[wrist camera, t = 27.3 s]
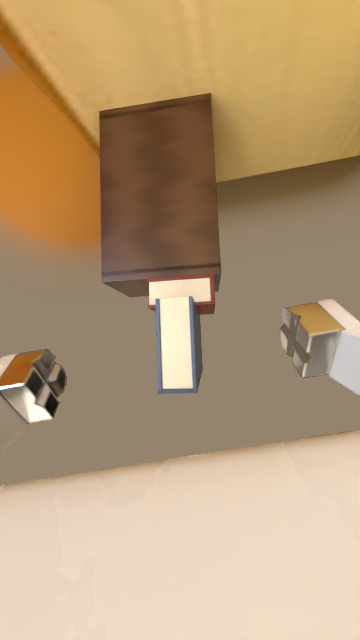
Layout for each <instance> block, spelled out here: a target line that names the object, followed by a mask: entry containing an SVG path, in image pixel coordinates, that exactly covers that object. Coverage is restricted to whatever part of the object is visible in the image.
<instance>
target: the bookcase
mask: <svg viewBox="0 0 360 640" xmlns="http://www.w3.org/2000/svg"><path fill="white" fill-rule="evenodd" d="M100 178H101V179H100V182H101V249H102V250H101V253H102V254H101V256H102V282H103V283H105V284H106V285H108V286H110V287H112V288H114V289H116V290H117V291H119V292H122V293H123V294H125V295H127V296H129V297H140V296H149V283H148V282H147V279H153V278H166V277H179V276H193V275H206V274H214V292H215V291H218V289H219V283H220V277H221V263H220V248H219V229H218V212H217V194H216V177H215V160H214V143H213V126H212V109H211V94H210V93H209V94H203V95H197V96H191V97H185V98H179V99H172V100H166V101H160V102H154V103H148V104H142V105H136V106H130V107H123V108H117V109H111V110H105V111H100Z"/></svg>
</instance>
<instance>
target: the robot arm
mask: <svg viewBox="0 0 360 640" xmlns="http://www.w3.org/2000/svg"><path fill="white" fill-rule="evenodd" d="M281 318H282V319H283V321H284V322H285V323H284V324H283V326H282V327H281V328H280V339H281V344H282V346H283V349H284V351H285V352H286V354H288V355H289V356H291V357H293V363H292V364H293V365H294V367H295V368H296V370H297V372H298V373H299V375H300V376H301V378H308V377H316V376H323V375H329V376H330V377H331V378H333V379H334V380H336V381H337V382H339V383H341V384H342V385H344V386H345V387H347V388H349V389H350V390H352V391H353V392H355V393H356V394H358V395H360V322H359V321H358V320H357V319H355V318H354V317H353V316H352V315H351V314H350V313H348V312H347V311H346V310H345V309H344V308H343V307H341V306H340V305H339V304H338V303H337V302H336V301H334V300H333V299H325V300H320V301H315V302H313V303H307V304H301V305H296V306H290V307H285V308H283V311H282V316H281ZM55 359H56V356H55V355H54V353H53V352H52V350H49V349H44V350H37V351H30V352H24V353H19V354H12V355H6V356H4V357H2V358H1V359H0V457H1V456H2V454H3V453H4V452H5V451H6V450H7V449H8V448H9V446H10V445H11V444H12V443H13V442H14V441H15V440H16V439H17V437H18V436H19V435H20V434H21V433H22V432H23V431H24V430H25V428H27V426H28V424H31V423H36V422H41V421H46V420H51V419H53V418H54V415H55V413H56V410H57V408H58V405H59V403H60V402H59V400H58V397H59V396H60V394H62V393H63V392H64V390H65V387H66V380H67V376H66V373H65V370H64V369H63V367H62V366H61V365H59V364H58V363H56V362H55ZM0 640H360V430H353V431H347V432H340V433H334V434H327V435H321V436H315V437H308V438H302V439H295V440H289V441H283V442H276V443H269V444H263V445H257V446H250V447H244V448H237V449H230V450H225V451H218V452H211V453H205V454H199V455H192V456H185V457H179V458H172V459H166V460H160V461H153V462H147V463H140V464H134V465H128V466H121V467H115V468H108V469H102V470H95V471H89V472H82V473H76V474H69V475H63V476H57V477H50V478H44V479H37V480H31V481H25V482H18V483H11V484H5V485H0Z"/></svg>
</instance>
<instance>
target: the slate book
mask: <svg viewBox="0 0 360 640" xmlns="http://www.w3.org/2000/svg"><path fill="white" fill-rule="evenodd" d="M155 306H156V336H157V366H158V393H159V394H165V393H197V390H198V386H199V382H200V378H201V374H202V369H203V368H202V349H201V328H200V315H199V312H198V310H197V307H196V304H195V302H194V299H193V297H192V296H189V297H177V298H161V299H159V298H156V299H155Z"/></svg>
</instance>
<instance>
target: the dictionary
mask: <svg viewBox="0 0 360 640" xmlns="http://www.w3.org/2000/svg"><path fill="white" fill-rule="evenodd" d="M147 282H148V283H149V297H150V305H148V308H150V309H151V310H154V311H155V312H156V306H155V299H156V298H159V299H161V298H177V297H189V296H192V297H193V299H194V302H195V304H196V307H197V310H198V312H199V315H200V314H214V308H215V292H214V274H206V275H193V276H179V277H166V278H153V279H147Z"/></svg>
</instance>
